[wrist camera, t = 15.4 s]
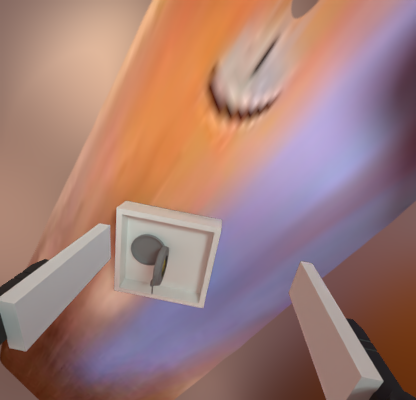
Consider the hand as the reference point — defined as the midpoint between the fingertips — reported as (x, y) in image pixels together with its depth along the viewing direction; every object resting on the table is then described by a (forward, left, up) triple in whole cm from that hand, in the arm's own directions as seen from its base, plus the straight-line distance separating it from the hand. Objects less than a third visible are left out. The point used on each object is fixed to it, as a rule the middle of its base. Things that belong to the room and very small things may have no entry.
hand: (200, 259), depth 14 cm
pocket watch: (+9, +15, -22) cm, 28 cm away
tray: (+6, +16, -22) cm, 28 cm away
